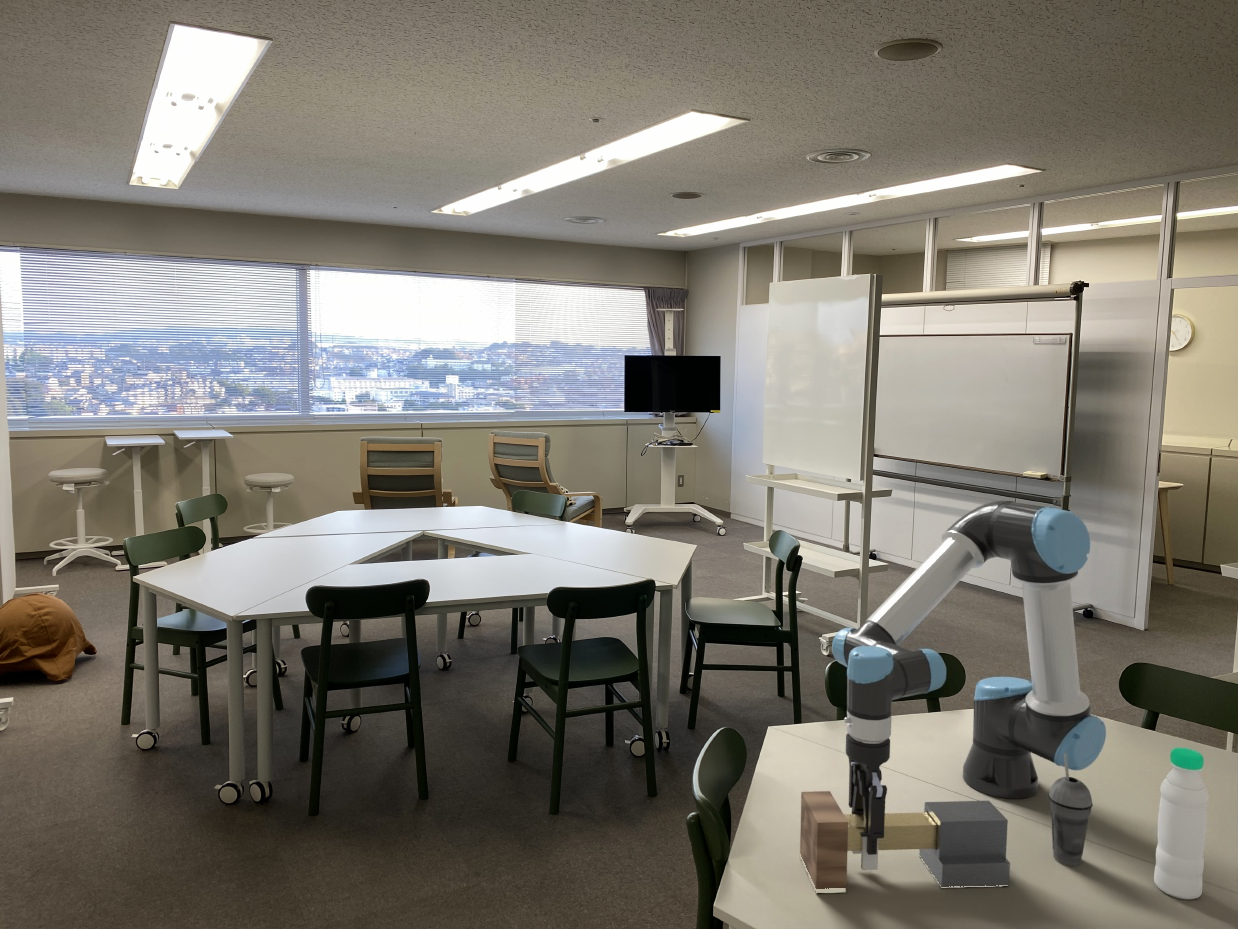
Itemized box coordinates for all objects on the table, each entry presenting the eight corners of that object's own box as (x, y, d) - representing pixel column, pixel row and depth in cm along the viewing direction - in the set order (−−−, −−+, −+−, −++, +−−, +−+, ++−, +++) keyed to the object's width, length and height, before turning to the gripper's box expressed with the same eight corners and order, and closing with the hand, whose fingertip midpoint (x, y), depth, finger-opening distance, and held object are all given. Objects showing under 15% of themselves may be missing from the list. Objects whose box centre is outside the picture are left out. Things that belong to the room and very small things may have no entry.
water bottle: (1186, 906, 146) (1196, 764, 144) (1144, 884, 153) (1154, 748, 150) (1210, 894, 150) (1221, 755, 147) (1168, 873, 156) (1178, 740, 153)
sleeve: (919, 857, 161) (921, 798, 160) (982, 855, 162) (985, 796, 161) (941, 889, 151) (944, 826, 150) (1008, 887, 152) (1011, 824, 151)
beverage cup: (1087, 875, 155) (1094, 768, 153) (1042, 862, 159) (1048, 758, 157) (1090, 855, 162) (1096, 752, 159) (1047, 844, 165) (1052, 744, 163)
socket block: (799, 858, 161) (801, 791, 159) (828, 858, 161) (829, 791, 160) (815, 894, 150) (817, 822, 148) (846, 893, 150) (848, 822, 149)
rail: (822, 838, 157) (823, 814, 157) (942, 835, 158) (943, 811, 158) (829, 852, 153) (830, 827, 152) (952, 848, 154) (953, 824, 153)
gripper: (832, 716, 161) (829, 835, 164) (863, 758, 144) (859, 890, 147) (872, 715, 162) (868, 834, 164) (907, 756, 144) (903, 888, 147)
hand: (864, 860), depth 155 cm, fingers closed on rail, 4 cm apart
